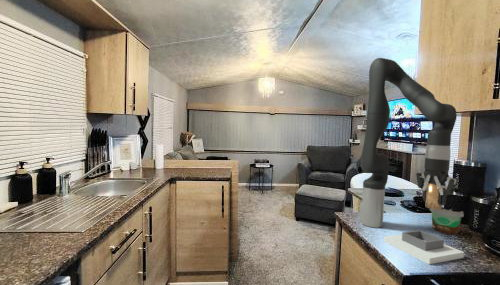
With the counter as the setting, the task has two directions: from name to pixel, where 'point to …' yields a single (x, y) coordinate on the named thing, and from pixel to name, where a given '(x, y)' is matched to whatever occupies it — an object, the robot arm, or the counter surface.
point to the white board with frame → (424, 246)
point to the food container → (446, 220)
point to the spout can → (432, 197)
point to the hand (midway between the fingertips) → (433, 202)
